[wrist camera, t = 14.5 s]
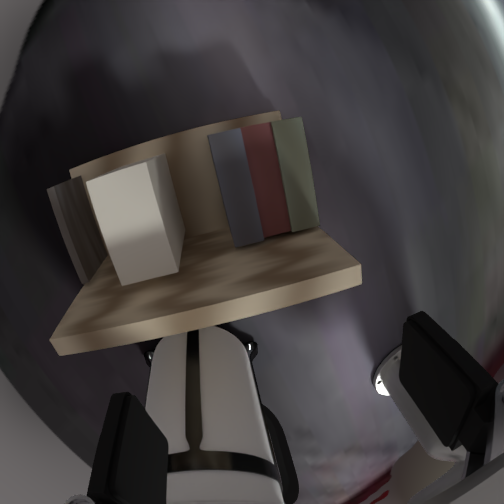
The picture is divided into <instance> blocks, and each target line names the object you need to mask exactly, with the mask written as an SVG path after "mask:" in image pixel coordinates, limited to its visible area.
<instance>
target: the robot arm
mask: <svg viewBox="0 0 504 504" xmlns="http://www.w3.org/2000/svg"><path fill="white" fill-rule="evenodd" d="M373 386H374V388H375V389H376V391H377V392H378V393H379V394H381V395H387V396H388V395H390V396H391V398H392V399H393V401H394V402H395V404H396V405H397V407H398V409H399V410H400V412H401V413H402V415H403V416H404V418H405V419H406V421H407V423H408V424H409V426H410V427H411V429H412V430H413V432H414V434H415V435H416V437H417V438H418V440H419V441H420V443H421V445H422V446H423V448H424V449H425V451H426V452H427V454H428V455H429V456H431V457H432V458H435V459H438V460H444V461H453V462H455V465H454V466H453V467H452V468H451V469H450V470H449V471H448V472H447V473H445V474H444V475H443V476H441V477H440V478H438V479H437V480H436V481H434V482H433V483H431V484H430V485H429V486H427V487H426V488H424V489H423V490H421V491H420V492H418V493H417V494H415V495H414V496H413V497H412V498H411V499H410V500H409V501H408V503H407V504H504V380H502V381H501V382H500V383H499V384H498V383H497V382H496V381H495V380H494V379H493V378H492V377H491V376H490V374H489V373H488V372H487V371H486V370H485V369H484V368H483V367H482V366H481V365H480V364H479V363H478V362H477V361H476V360H475V359H474V358H473V357H472V356H471V355H470V354H469V353H468V352H467V351H466V350H465V349H464V348H463V347H462V346H461V345H460V344H459V343H458V342H457V341H456V340H454V339H453V338H452V337H451V336H450V335H449V334H448V333H447V332H446V331H445V330H443V329H442V328H441V327H440V326H439V325H438V324H437V323H436V322H435V321H434V320H433V319H432V318H431V317H430V316H429V315H427V314H426V313H425V312H424V311H420V312H418V313H416V314H413V315H411V316H409V317H408V318H407V321H406V322H405V323H404V325H403V337H402V345H401V346H399V347H398V348H396V349H395V350H394V351H392V352H391V353H390V354H389V355H388V356H387V357H386V358H385V359H384V360H383V361H382V363H381V364H380V365H379V367H378V369H377V371H376V372H375V375H374V379H373ZM168 450H169V445H168V441H167V438H166V437H165V436H164V434H163V433H162V432H161V430H160V429H159V428H158V426H157V425H156V424H155V422H154V421H153V420H152V418H151V417H150V416H149V414H148V413H147V411H146V410H145V409H144V407H143V406H142V404H141V403H140V401H139V400H138V399H137V397H136V396H135V395H131V394H130V393H129V392H123V393H115V394H113V395H112V396H111V399H110V403H109V406H108V410H107V414H106V417H105V421H104V425H103V429H102V432H101V435H100V438H99V442H98V446H97V450H96V455H95V459H94V463H93V468H92V472H91V477H90V482H89V487H88V492H87V496H85V495H74V496H72V497H70V498H69V499H68V500H66V502H65V503H64V504H166V495H167V468H168Z"/></svg>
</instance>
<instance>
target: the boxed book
mask: <svg viewBox="0 0 504 504" xmlns="http://www.w3.org/2000/svg"><path fill="white" fill-rule="evenodd" d="M86 185H87V188H88V191H89V195H90V198H91V201H92V205H93V208H94V211H95V214H96V217H97V220H98V223H99V226H100V229H101V232H102V235H103V238H104V241H105V243H106V246H107V249H108V252H109V254H110V257H111V260H112V262H113V265H114V267H115V270H116V272H117V275H118V277H119V280H120V282H121V285H122V286H124V285H128V284H132V283H136V282H140V281H144V280H148V279H152V278H156V277H161V276H165V275H169V274H173V273H177V272H179V265H180V259H181V253H182V247H183V241H184V235H185V227H184V223H183V219H182V216H181V212H180V209H179V205H178V201H177V198H176V194H175V190H174V186H173V182H172V179H171V175H170V171H169V167H168V163H167V159H166V155H165V153H164V154H160V155H157V156H154V157H150V158H147V159H144V160H140V161H137V162H134V163H131V164H128V165H124V166H122V167H119V168H117V169H114V170H112V171H110V172H107V173H105V174H103V175H100V176H98V177H96V178H93V179H91V180H89V181H87V182H86Z"/></svg>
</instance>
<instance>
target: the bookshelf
mask: <svg viewBox="0 0 504 504" xmlns="http://www.w3.org/2000/svg"><path fill="white" fill-rule="evenodd" d="M164 153H165V155H166V159H167V163H168V167H169V171H170V175H171V179H172V182H173V186H174V190H175V194H176V198H177V201H178V205H179V209H180V212H181V216H182V219H183V223H184V227H185V235H184V241H183V247H182V253H181V259H180V265H179V272H177V273H173V274H169V275H165V276H161V277H156V278H152V279H148V280H144V281H140V282H136V283H132V284H128V285H124V286H122V285H121V282H120V280H119V277H118V275H117V272H116V270H115V267H114V265H113V262H112V260H111V257H110V254H109V252H108V249H107V246H106V243H105V241H104V238H103V235H102V232H101V229H100V226H99V223H98V220H97V217H96V214H95V211H94V208H93V205H92V201H91V198H90V195H89V191H88V188H87V185H86V182H87V181H89V180H91V179H93V178H96V177H98V176H100V175H103V174H105V173H107V172H110V171H112V170H114V169H117V168H119V167H122V166H124V165H128V164H131V163H134V162H137V161H140V160H144V159H147V158H150V157H154V156H157V155H160V154H164ZM69 171H70V175H71V179H70V180H68V181H65V182H63V183H60V184H58V185H56V186H53V187H51V188H49V189H47V192H48V195H49V199H50V202H51V205H52V208H53V211H54V214H55V217H56V220H57V223H58V226H59V228H60V231H61V234H62V237H63V239H64V242H65V245H66V247H67V250H68V252H69V255H70V257H71V260H72V262H73V265H74V267H75V269H76V272H77V274H78V276H79V279H80V281H81V283H82V284H84V286H83V287H82V289H81V290H80V292H79V293H78V295H77V296H76V298H75V299H74V301H73V303H72V304H71V306H70V307H69V309H68V310H67V312H66V314H65V315H64V317H63V318H62V320H61V322H60V323H59V325H58V326H57V328H56V330H55V331H54V333H53V335H52V337H51V338H50V341H51V343H52V345H53V346H54V348H55V350H56V351H57V353H58V354H59V356H62V355H68V354H75V353H81V352H87V351H93V350H99V349H104V348H110V347H115V346H121V345H126V344H131V343H136V342H141V341H146V340H151V339H156V338H161V337H166V336H170V335H175V334H179V333H184V332H188V331H193V330H197V329H201V328H206V327H210V326H214V325H218V324H222V323H226V322H231V321H235V320H239V319H242V318H246V317H250V316H254V315H258V314H262V313H265V312H269V311H273V310H277V309H280V308H284V307H287V306H291V305H295V304H298V303H302V302H305V301H308V300H312V299H315V298H319V297H322V296H325V295H329V294H332V293H335V292H339V291H342V290H345V289H348V288H351V287H355V286H358V285H361V284H362V272H361V264H360V263H359V262H358V261H357V260H356V259H355V258H354V257H353V256H351V255H350V254H349V253H348V252H347V251H346V250H345V249H343V248H342V247H341V246H340V245H339V244H338V243H337V242H335V241H334V240H333V239H332V238H331V237H330V236H329V235H327V234H326V233H325V232H324V231H323V230H322V229H320V228H319V227H318V226H320V223H319V216H318V209H317V202H316V195H315V189H314V182H313V176H312V170H311V164H310V159H309V153H308V147H307V142H306V136H305V131H304V126H303V121H302V117H296V118H290V119H284V120H282V119H281V114H280V110H279V111H273V112H267V113H262V114H256V115H251V116H246V117H241V118H236V119H232V120H227V121H222V122H218V123H214V124H210V125H205V126H201V127H197V128H194V129H190V130H186V131H182V132H178V133H175V134H171V135H168V136H164V137H161V138H158V139H154V140H151V141H148V142H145V143H141V144H138V145H135V146H132V147H129V148H126V149H123V150H120V151H117V152H115V153H112V154H109V155H106V156H103V157H101V158H98V159H95V160H93V161H90V162H88V163H85V164H83V165H80V166H78V167H75V168H73V169H70V170H69Z"/></svg>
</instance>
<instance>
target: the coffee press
mask: <svg viewBox="0 0 504 504" xmlns="http://www.w3.org/2000/svg"><path fill="white" fill-rule="evenodd" d="M249 350H253V351H252V352H251V354H250V362H249V358H248V354H247V351H249ZM257 354H258V347H257V343H256V342H248V343H246V344H245V345H243V344H242V343H241V341H240V340H239V339H238V338H237V337H235V336H234V335H233V334H231V333H230V332H228V331H226V330H224V329H221V328H219V327H215V326H210V327H206V328H201V329H197V330H193V331H188V332H184V333H179V334H175V335H170V336H166V337H163V338H162V339H161V341H160V342H159V343H158V345H157V347H156V349H155V351H147V352H145V354H144V357H145V360H146V363H147V365H148V366H149V367H150V374H149V381H148V388H147V395H146V403H145V410H146V411H147V413H148V414H149V416H150V417H151V418H152V420H153V421H154V422H155V424H156V425H157V426H158V428H159V429H160V430H161V432H162V433H163V434H164V436H165V437H166V438H167V441H168V445H169V450H168V468H167V495H166V504H293V503H295V501H296V500H297V498H298V494H299V484H298V479H297V474H296V471H295V467H294V464H293V460H292V457H291V454H290V450H289V447H288V444H287V440H286V437H285V434H284V431H283V429H282V427H281V425H280V423H279V421H278V419H277V418H276V417H275V415H274V414H273V413H272V412H271V411H270V410H269V409H268V408H267V407H266V406H264V405H263V404H262V403H261V399H260V394H259V390H258V386H257V382H256V378H255V374H254V369H253V365H252V361H253V359H254V358H255V357H256V355H257ZM149 359H153V360H152V365H151V362H150V361H149ZM250 365H251V366H250ZM268 430H269V431H268ZM269 433H270V435H269ZM270 437H271V439H270ZM271 441H272V443H271ZM272 444H273V447H272ZM273 448H274V451H273ZM274 452H275V455H274ZM275 456H276V459H275ZM276 460H277V463H276ZM277 464H278V468H279V471H278V468H277ZM279 472H280V475H281V479H280V475H279ZM281 480H282V483H281Z"/></svg>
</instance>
